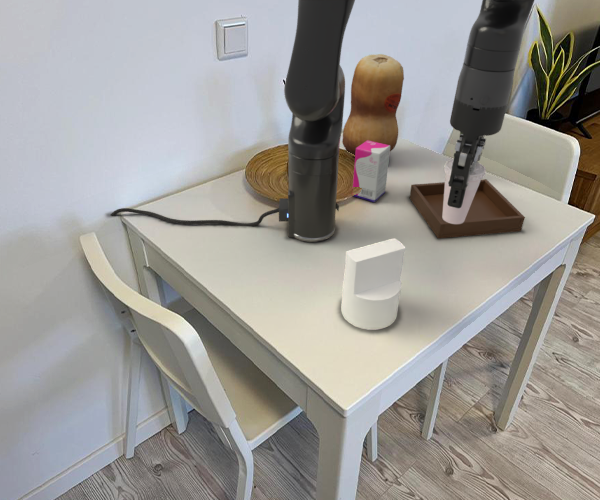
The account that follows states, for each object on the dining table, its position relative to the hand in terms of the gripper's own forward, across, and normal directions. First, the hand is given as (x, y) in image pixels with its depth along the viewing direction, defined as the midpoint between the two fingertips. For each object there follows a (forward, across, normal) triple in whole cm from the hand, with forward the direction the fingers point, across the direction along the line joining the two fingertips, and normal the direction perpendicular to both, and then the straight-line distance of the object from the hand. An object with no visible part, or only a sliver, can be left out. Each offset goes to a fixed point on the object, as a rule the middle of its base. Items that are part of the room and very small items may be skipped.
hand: (458, 196), depth 84 cm
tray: (+14, -21, 0) cm, 25 cm away
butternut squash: (+15, -38, -27) cm, 49 cm away
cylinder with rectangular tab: (+15, +17, -8) cm, 24 cm away
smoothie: (+4, 0, 0) cm, 4 cm away
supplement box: (+15, -20, -21) cm, 33 cm away
